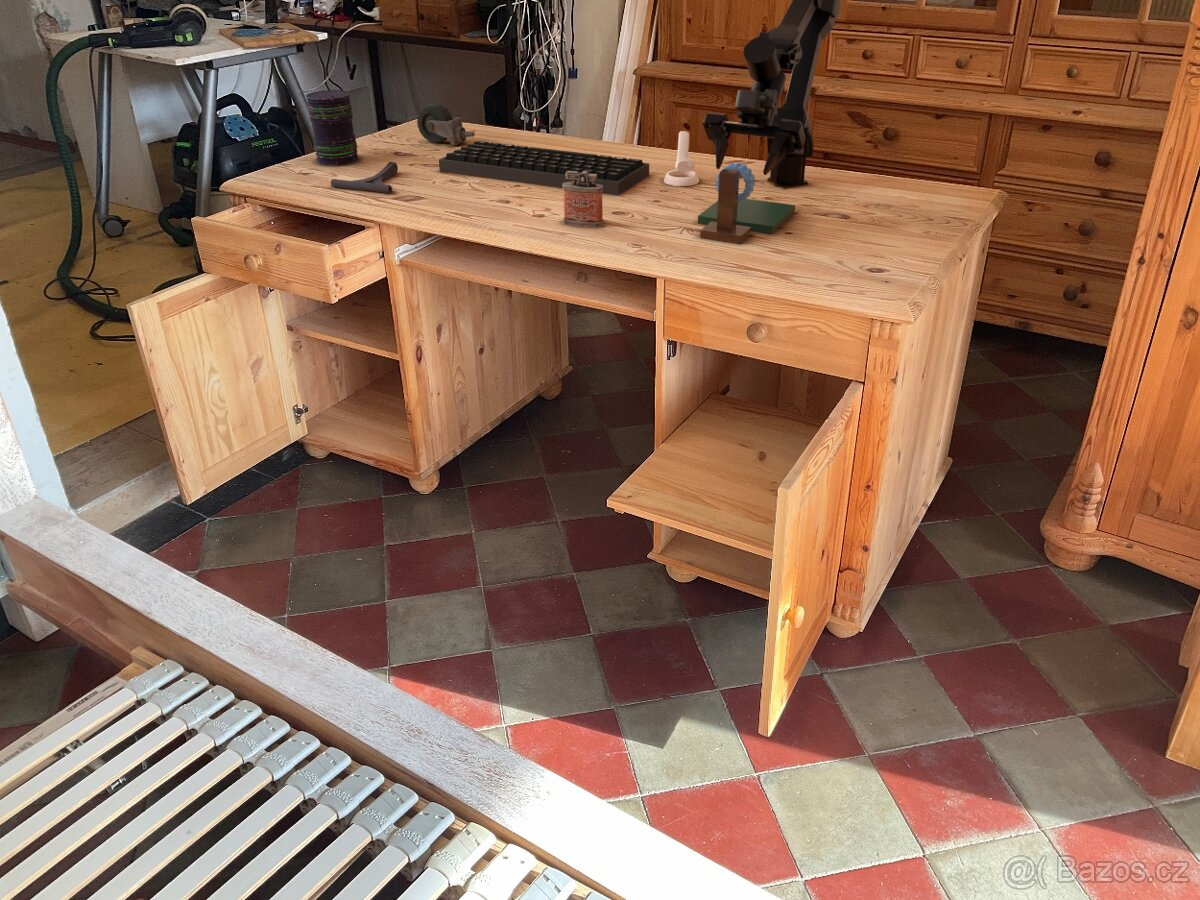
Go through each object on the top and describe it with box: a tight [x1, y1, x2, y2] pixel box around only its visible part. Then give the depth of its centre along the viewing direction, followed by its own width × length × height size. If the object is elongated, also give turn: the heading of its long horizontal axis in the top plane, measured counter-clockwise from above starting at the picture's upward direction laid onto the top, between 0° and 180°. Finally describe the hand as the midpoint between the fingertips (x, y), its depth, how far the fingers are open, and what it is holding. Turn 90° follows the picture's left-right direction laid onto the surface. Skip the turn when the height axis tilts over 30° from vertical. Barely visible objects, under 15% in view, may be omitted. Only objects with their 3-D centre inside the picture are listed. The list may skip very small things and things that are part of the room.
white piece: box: [663, 130, 700, 187], centre depth 212 cm, size 8×12×7 cm
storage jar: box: [305, 89, 359, 167], centre depth 227 cm, size 10×10×15 cm
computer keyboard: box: [438, 140, 650, 196], centre depth 217 cm, size 45×16×4 cm, turn 64°
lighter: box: [561, 171, 605, 228], centre depth 186 cm, size 8×3×10 cm, turn 71°
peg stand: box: [699, 168, 752, 245], centre depth 180 cm, size 10×8×12 cm
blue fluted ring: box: [714, 162, 756, 203], centre depth 179 cm, size 2×7×7 cm, turn 63°
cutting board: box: [697, 198, 796, 235], centre depth 190 cm, size 14×15×2 cm
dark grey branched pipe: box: [330, 161, 399, 194], centre depth 214 cm, size 14×15×3 cm
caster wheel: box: [416, 103, 476, 147], centre depth 240 cm, size 6×10×15 cm
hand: (740, 170), depth 180 cm, fingers open, 9 cm apart
